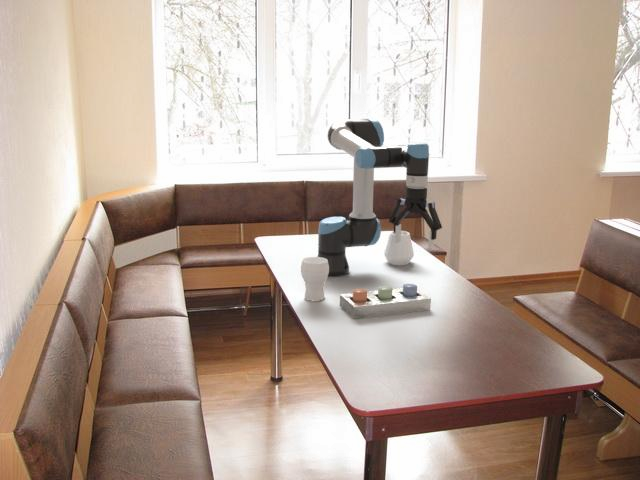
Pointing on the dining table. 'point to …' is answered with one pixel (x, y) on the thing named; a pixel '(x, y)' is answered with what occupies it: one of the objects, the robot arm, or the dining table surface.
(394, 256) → the white vase
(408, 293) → the button slate
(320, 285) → the cup
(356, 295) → the button terracotta
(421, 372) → the dining table surface
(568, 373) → the dining table surface
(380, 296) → the button sage
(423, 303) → the panel
